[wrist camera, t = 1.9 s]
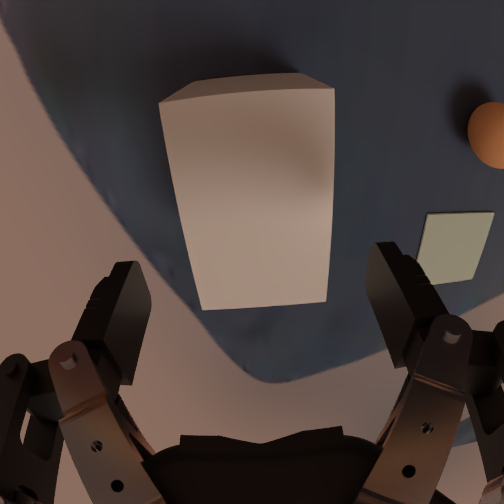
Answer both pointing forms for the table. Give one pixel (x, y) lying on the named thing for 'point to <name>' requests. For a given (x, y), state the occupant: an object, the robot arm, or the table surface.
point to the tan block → (254, 186)
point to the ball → (488, 133)
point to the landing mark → (453, 245)
